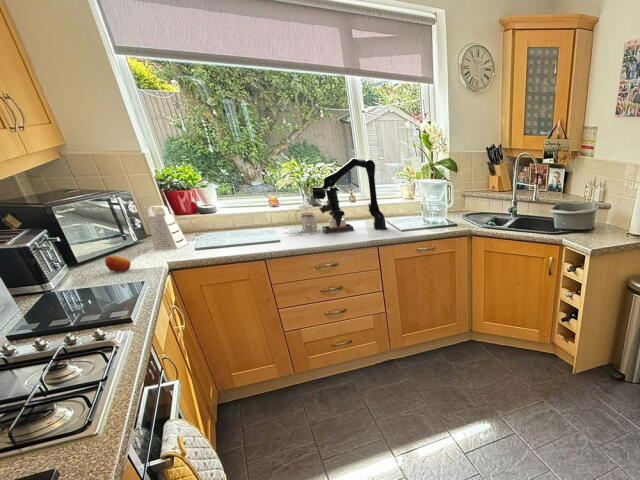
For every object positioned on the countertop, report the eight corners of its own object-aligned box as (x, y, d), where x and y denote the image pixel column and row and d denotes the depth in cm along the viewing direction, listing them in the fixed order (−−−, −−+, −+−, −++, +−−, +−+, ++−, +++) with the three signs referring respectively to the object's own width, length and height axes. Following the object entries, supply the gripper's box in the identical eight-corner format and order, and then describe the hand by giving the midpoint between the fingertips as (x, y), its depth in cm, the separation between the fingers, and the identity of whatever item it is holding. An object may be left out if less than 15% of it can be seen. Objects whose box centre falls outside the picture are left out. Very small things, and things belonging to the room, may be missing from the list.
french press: (321, 230, 251) (312, 187, 239) (300, 233, 245) (290, 188, 233) (317, 227, 258) (308, 185, 246) (297, 229, 253) (287, 186, 240)
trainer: (344, 225, 256) (343, 218, 254) (346, 227, 253) (345, 219, 251) (328, 227, 251) (327, 219, 249) (330, 228, 248) (329, 221, 246)
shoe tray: (349, 227, 260) (349, 223, 259) (353, 230, 254) (353, 226, 253) (322, 230, 252) (322, 226, 251) (326, 233, 246) (325, 229, 245)
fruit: (98, 270, 174) (102, 252, 175) (120, 274, 182) (124, 257, 182) (110, 272, 172) (114, 254, 172) (132, 277, 180) (136, 259, 180)
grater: (177, 248, 211) (162, 208, 201) (154, 249, 209) (137, 208, 199) (187, 243, 220) (173, 204, 210) (166, 243, 218) (150, 204, 208)
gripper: (314, 197, 247) (320, 224, 254) (322, 202, 233) (327, 230, 241) (334, 196, 252) (338, 222, 260) (342, 200, 239) (347, 228, 247)
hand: (337, 225), depth 252 cm, fingers closed on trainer, 4 cm apart
